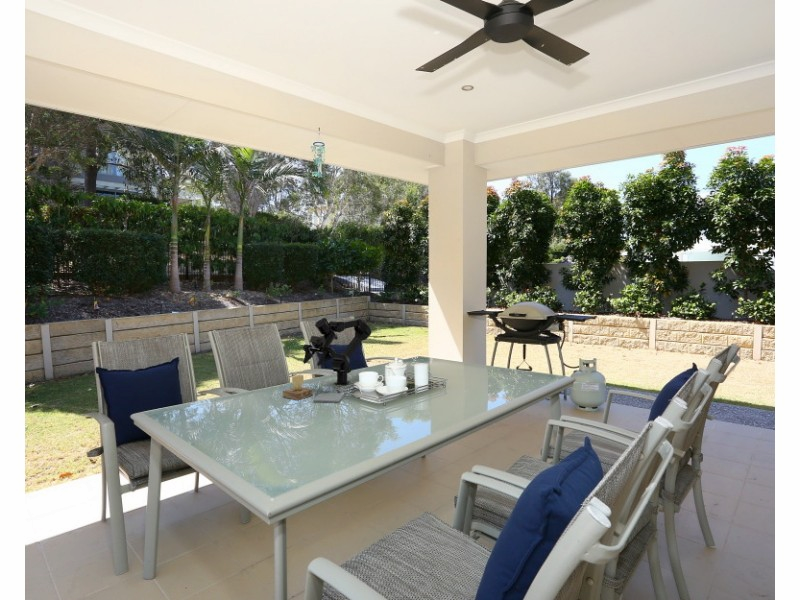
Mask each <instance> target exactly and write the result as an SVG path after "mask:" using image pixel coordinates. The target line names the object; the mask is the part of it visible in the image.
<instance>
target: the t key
mask: <svg viewBox="0 0 800 600" xmlns="http://www.w3.org/2000/svg"><path fill="white" fill-rule="evenodd" d="M291 383H292V384H291V385H292V386H294V387H293V388H294V391H301V390H302V387H303V384H304V383H305V382H304V374H296V375H292V376H291Z"/></svg>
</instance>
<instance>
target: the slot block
mask: <svg viewBox="0 0 800 600" xmlns="http://www.w3.org/2000/svg"><path fill="white" fill-rule="evenodd" d="M313 396H314V390H313V389H312V388H307V387H303V386H302V390H301V391H294V387H291V388H288V389H285V390H282V397H283V398H287V399H290V400H295V401H300V400H303V399H305V398H309V397H313Z"/></svg>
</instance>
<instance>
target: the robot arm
mask: <svg viewBox="0 0 800 600" xmlns="http://www.w3.org/2000/svg"><path fill="white" fill-rule="evenodd" d="M314 326H315V328H316V329H317V331H318V332H319V334H320V335H319V336H317V335H311V336H310V340H309V343H311V344H306V343H305V344H304V345H303V346H302V350H303V351H304V358H303V364H306V363H307V362H309V360H311V359H312V358H313V357H314V355H315V353H319V354H322V355H321V356H320V358H319V360H318V362H317V364H316V365H317V366H318V367H319V366H321V365H322V364H324V363H326V362H328V361H330V360H332V361H331V367H332V371H333V372H336V381H335V382H334V384H335V385H347V384H349V383H350V380H348V374H349V373H351V372H352V367H351V365H350V359H351V358H352V356H353V355H354V353H355V352H356V350H357V349H358V348H359V346H360V345H361V343H362V342H363V341H365V340H367V339H369V337H371V335H372V329H371V328H370V326H369V325H368V324H366V322H364V321H363V319H361V318H353V319H348V320H347V319H346V320H343V321H342V320H341V321H338V320H337V321H336V320H330V321H329V322H328V319H327V317H322V318H321V319H319V320H318V321H316V322H315V324H314ZM350 328H353V330H354V337H353V338H352V339H351V340H350V342H349V343H348V345H347V346H346V347H345V349H344V351H342V353H337V352H336V350H335V349H334V348H333V347H332V343H333V341H334V340H338V339H339V337H338V333H343V331H345V330H346V329H350ZM336 333H337V334H336ZM312 344H313V346H314V347H313V346H312Z"/></svg>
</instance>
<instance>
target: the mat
mask: <svg viewBox="0 0 800 600" xmlns="http://www.w3.org/2000/svg"><path fill="white" fill-rule="evenodd" d="M344 397H345V393H328V392H324V393H318V395H316V397H315V398H314V399H313V403H320V404H321V403H322V404H324V403H326V404H327V403H328V404H331V403H332V404H340V403H341V401H342V400H343V398H344Z"/></svg>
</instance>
